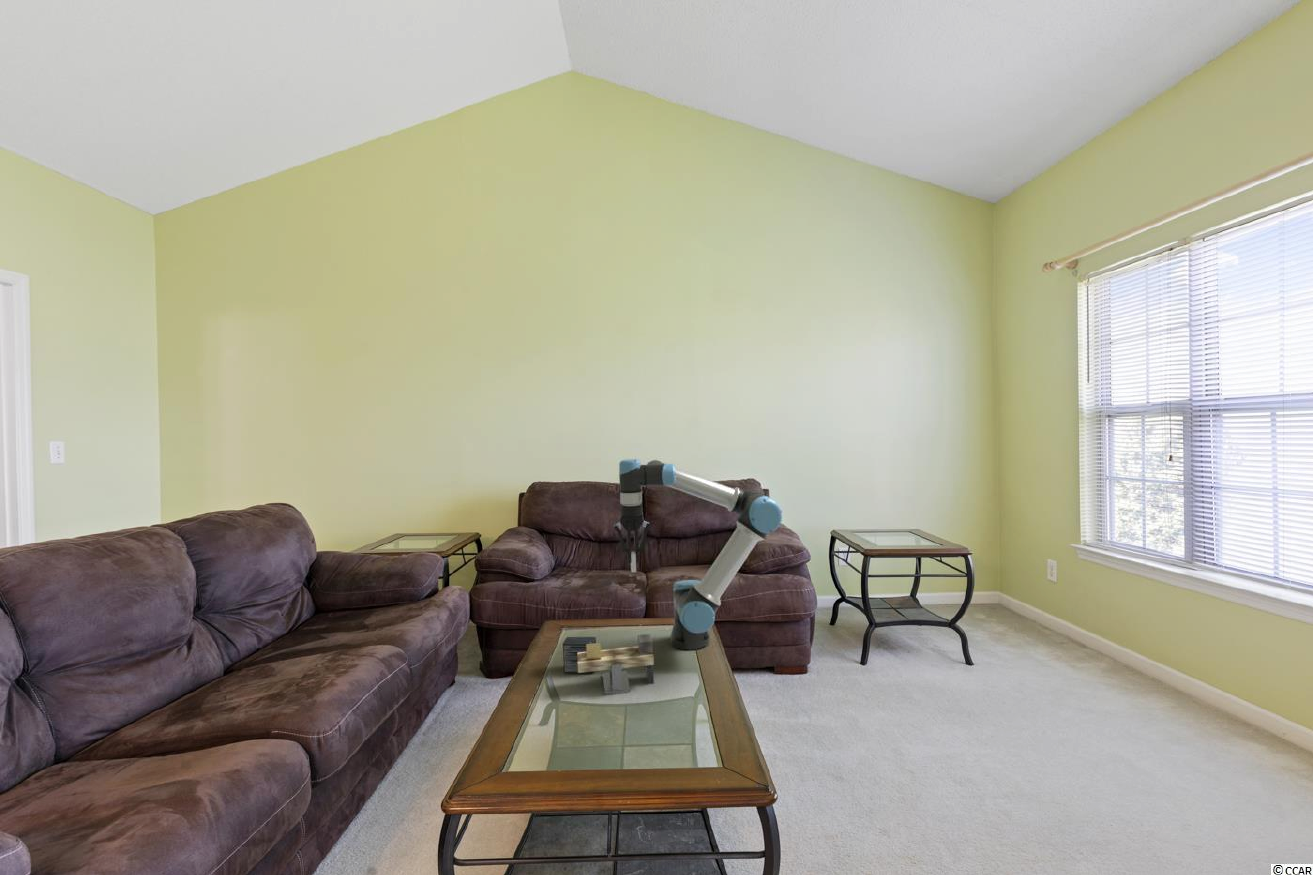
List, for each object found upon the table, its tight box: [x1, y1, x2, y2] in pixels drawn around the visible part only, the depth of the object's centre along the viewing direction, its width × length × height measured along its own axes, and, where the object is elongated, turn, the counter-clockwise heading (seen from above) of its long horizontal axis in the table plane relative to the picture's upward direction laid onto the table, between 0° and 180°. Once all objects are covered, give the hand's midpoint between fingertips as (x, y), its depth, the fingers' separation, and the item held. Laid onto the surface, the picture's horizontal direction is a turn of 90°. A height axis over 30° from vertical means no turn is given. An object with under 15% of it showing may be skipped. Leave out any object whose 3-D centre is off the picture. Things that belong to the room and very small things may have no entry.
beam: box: [577, 633, 655, 673], centre depth 178 cm, size 24×9×7 cm, turn 99°
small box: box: [562, 636, 597, 675], centre depth 189 cm, size 11×6×10 cm, turn 84°
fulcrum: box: [601, 663, 655, 696], centre depth 179 cm, size 16×12×9 cm
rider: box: [586, 642, 602, 661], centre depth 177 cm, size 4×4×5 cm
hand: (633, 571), depth 192 cm, fingers closed
